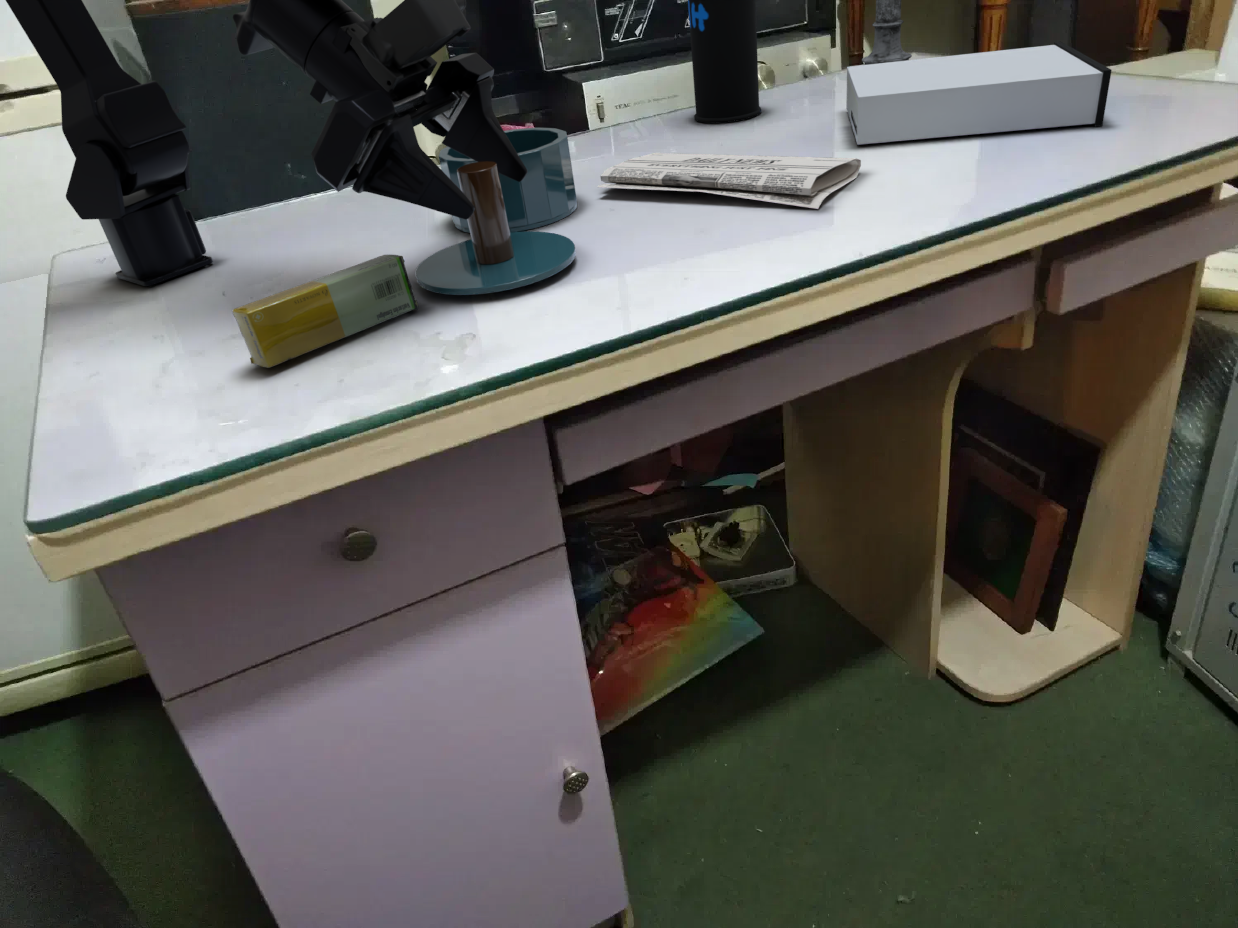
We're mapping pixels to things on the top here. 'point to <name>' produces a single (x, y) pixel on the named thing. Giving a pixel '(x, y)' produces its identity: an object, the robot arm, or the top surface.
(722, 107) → the aerosol can
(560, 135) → the canister
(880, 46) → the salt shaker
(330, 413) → the top surface
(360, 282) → the medication box
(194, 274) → the top surface
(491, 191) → the lid
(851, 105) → the disc drive
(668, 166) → the newspaper
